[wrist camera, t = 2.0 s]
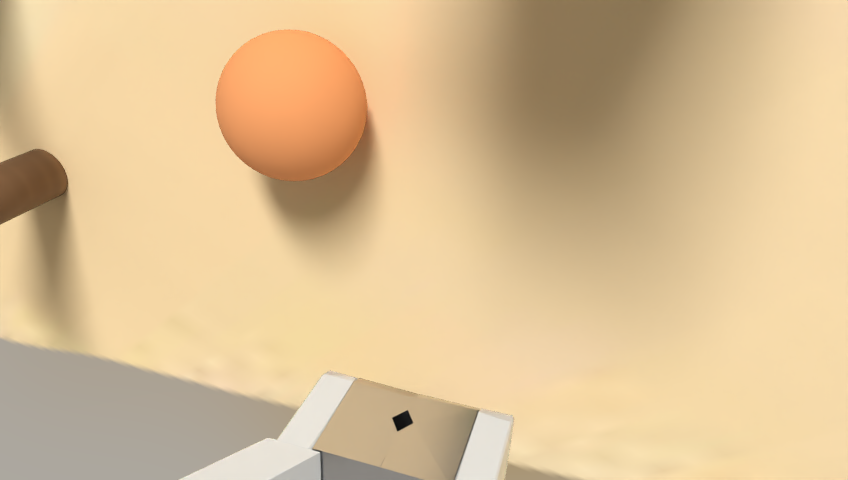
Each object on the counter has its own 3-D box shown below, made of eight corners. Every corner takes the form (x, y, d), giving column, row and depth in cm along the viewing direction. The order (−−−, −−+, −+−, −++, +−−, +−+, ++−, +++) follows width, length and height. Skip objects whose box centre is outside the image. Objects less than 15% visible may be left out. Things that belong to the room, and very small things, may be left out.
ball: (389, 26, 25) (328, 54, 20) (386, 162, 28) (331, 215, 23) (259, 12, 26) (173, 35, 21) (268, 144, 29) (194, 190, 24)
